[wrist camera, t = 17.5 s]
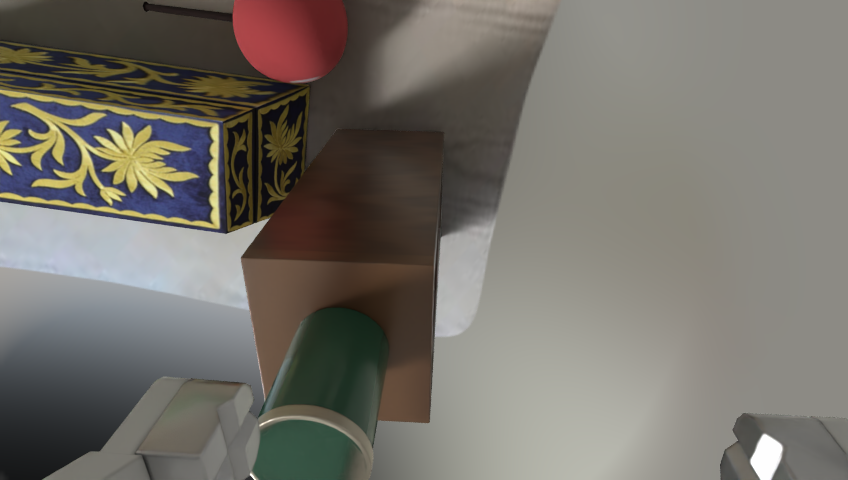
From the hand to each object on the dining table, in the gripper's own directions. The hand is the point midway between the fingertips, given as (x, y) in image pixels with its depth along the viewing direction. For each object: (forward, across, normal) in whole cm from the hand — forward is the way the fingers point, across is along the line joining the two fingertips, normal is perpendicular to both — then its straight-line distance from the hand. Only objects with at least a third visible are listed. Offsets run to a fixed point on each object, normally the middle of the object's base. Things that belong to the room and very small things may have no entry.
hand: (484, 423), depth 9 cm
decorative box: (+35, +29, +5) cm, 46 cm away
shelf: (+36, +7, +10) cm, 38 cm away
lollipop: (+33, +24, -4) cm, 41 cm away
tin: (+14, +6, +10) cm, 18 cm away
